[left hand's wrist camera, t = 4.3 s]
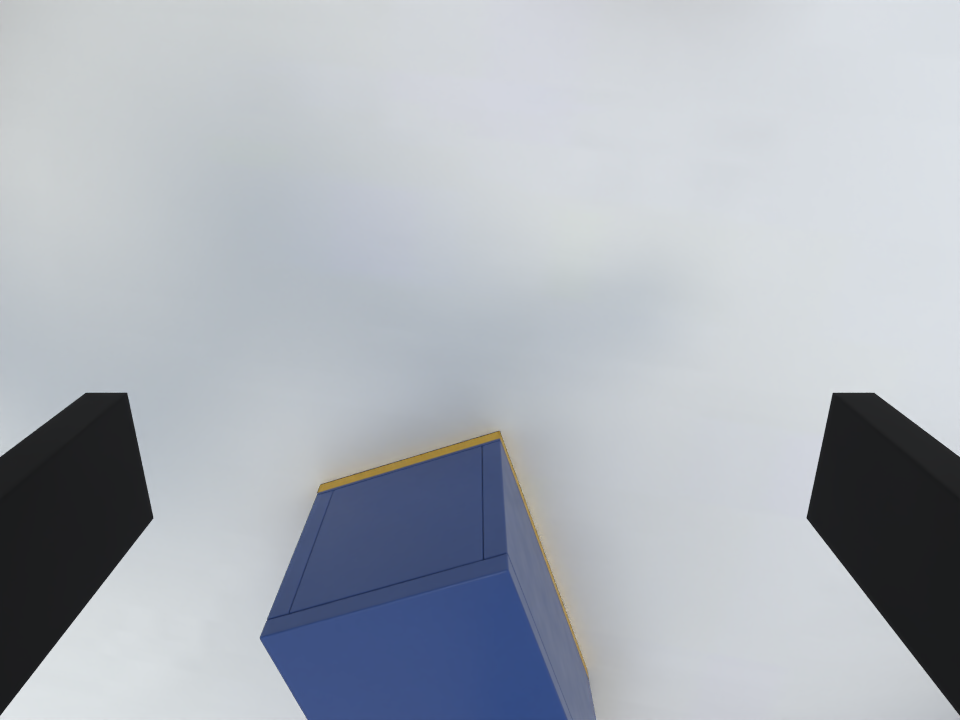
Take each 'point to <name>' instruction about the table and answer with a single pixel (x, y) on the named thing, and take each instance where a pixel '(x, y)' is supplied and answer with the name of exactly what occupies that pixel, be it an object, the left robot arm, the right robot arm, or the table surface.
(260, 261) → the table surface
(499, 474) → the cabinet
